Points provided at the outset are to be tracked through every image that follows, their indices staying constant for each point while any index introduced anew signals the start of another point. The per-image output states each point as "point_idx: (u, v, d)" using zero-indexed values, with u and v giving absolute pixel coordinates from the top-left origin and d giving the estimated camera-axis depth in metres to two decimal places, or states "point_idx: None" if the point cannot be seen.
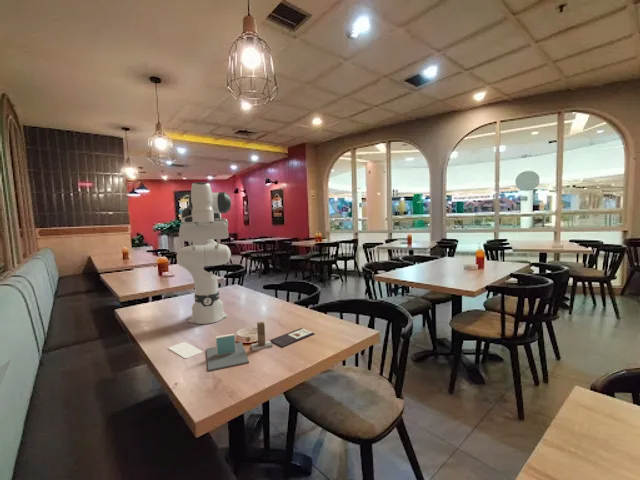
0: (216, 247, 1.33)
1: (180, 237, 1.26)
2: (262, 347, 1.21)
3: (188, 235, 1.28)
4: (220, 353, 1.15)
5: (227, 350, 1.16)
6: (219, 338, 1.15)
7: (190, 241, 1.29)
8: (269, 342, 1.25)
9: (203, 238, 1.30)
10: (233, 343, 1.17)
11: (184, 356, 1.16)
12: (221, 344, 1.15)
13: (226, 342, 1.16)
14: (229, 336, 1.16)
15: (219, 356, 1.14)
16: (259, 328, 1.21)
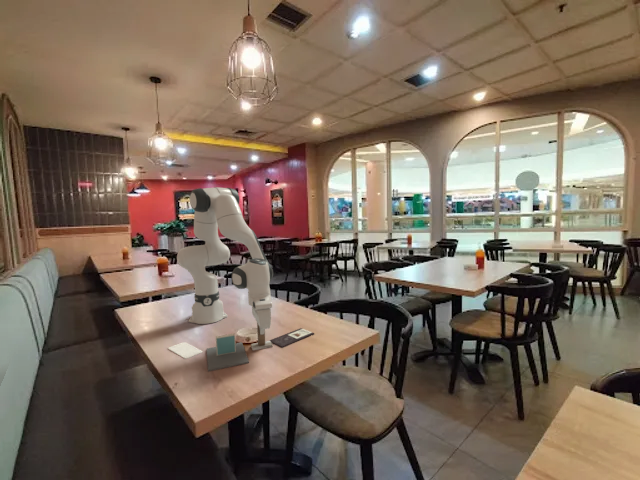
0: None
1: (270, 324, 1.14)
2: (262, 347, 1.21)
3: None
4: (220, 353, 1.15)
5: (227, 350, 1.16)
6: (219, 338, 1.15)
7: None
8: (269, 342, 1.25)
9: None
10: (233, 343, 1.17)
11: (184, 356, 1.16)
12: (221, 344, 1.15)
13: (226, 342, 1.16)
14: (229, 336, 1.16)
15: (219, 356, 1.14)
16: (259, 328, 1.21)
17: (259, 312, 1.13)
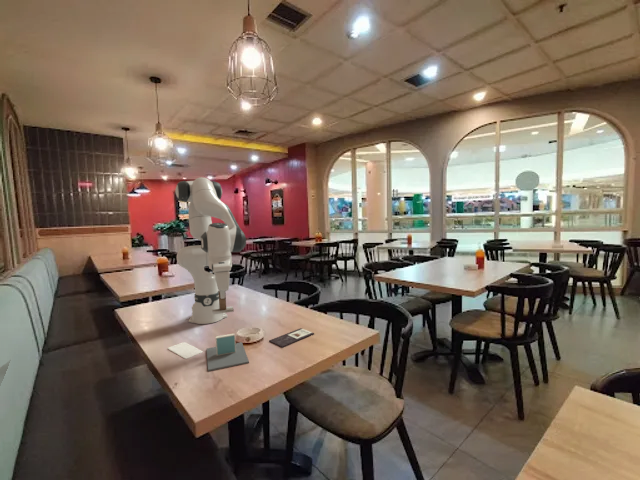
0: None
1: (228, 287, 1.14)
2: (223, 311, 1.21)
3: None
4: (220, 353, 1.15)
5: (227, 350, 1.16)
6: (219, 338, 1.15)
7: None
8: (231, 307, 1.25)
9: None
10: (233, 343, 1.17)
11: (184, 356, 1.16)
12: (221, 344, 1.15)
13: (226, 342, 1.16)
14: (229, 336, 1.16)
15: (219, 356, 1.14)
16: None
17: (217, 274, 1.13)
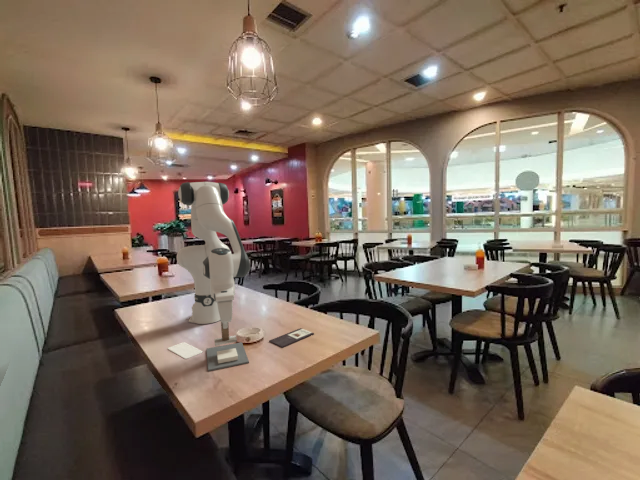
0: None
1: (231, 317, 1.08)
2: (225, 342, 1.15)
3: None
4: None
5: None
6: (221, 362, 1.09)
7: None
8: (234, 337, 1.18)
9: None
10: None
11: (184, 356, 1.16)
12: None
13: None
14: (232, 360, 1.11)
15: None
16: None
17: (219, 304, 1.06)
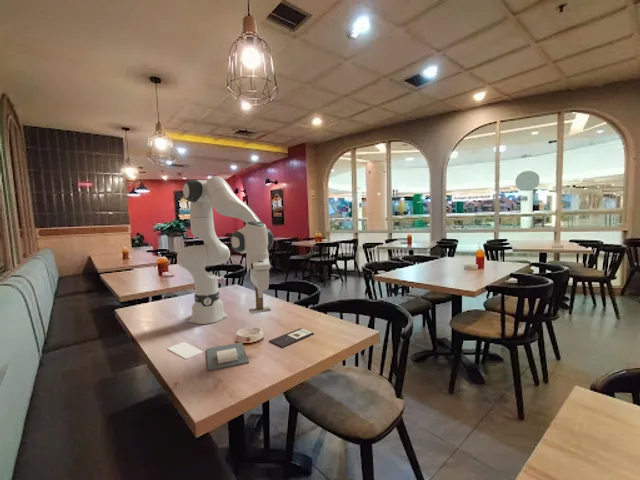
0: None
1: None
2: (260, 311, 1.20)
3: None
4: None
5: None
6: (221, 362, 1.09)
7: None
8: (267, 307, 1.23)
9: None
10: None
11: (184, 356, 1.16)
12: None
13: None
14: (232, 360, 1.11)
15: None
16: (257, 291, 1.20)
17: (257, 273, 1.11)
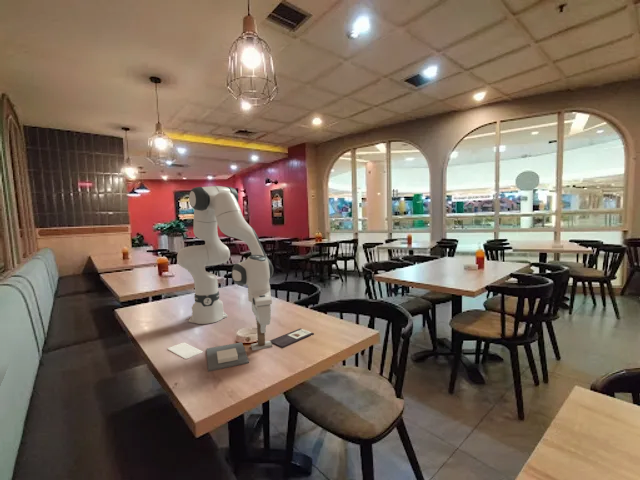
0: None
1: None
2: (262, 347, 1.21)
3: None
4: None
5: None
6: (221, 362, 1.09)
7: None
8: (269, 342, 1.25)
9: None
10: None
11: (184, 356, 1.15)
12: None
13: None
14: (232, 360, 1.11)
15: None
16: (259, 328, 1.21)
17: (259, 308, 1.13)
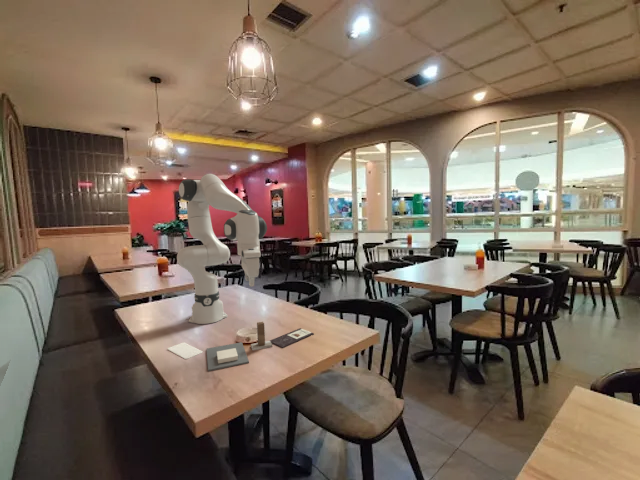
0: None
1: None
2: (262, 347, 1.21)
3: None
4: None
5: None
6: (221, 362, 1.09)
7: None
8: (269, 342, 1.25)
9: None
10: None
11: (184, 357, 1.15)
12: None
13: None
14: (232, 360, 1.11)
15: None
16: (259, 328, 1.21)
17: (247, 260, 1.14)
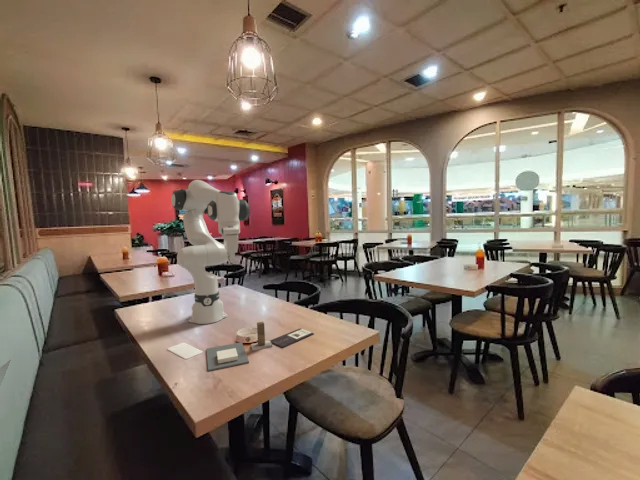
0: None
1: (237, 249, 1.21)
2: (262, 347, 1.21)
3: None
4: None
5: None
6: (221, 362, 1.09)
7: (234, 253, 1.24)
8: (269, 342, 1.25)
9: None
10: None
11: (184, 357, 1.15)
12: None
13: None
14: (232, 360, 1.11)
15: None
16: (259, 328, 1.21)
17: (227, 236, 1.20)
